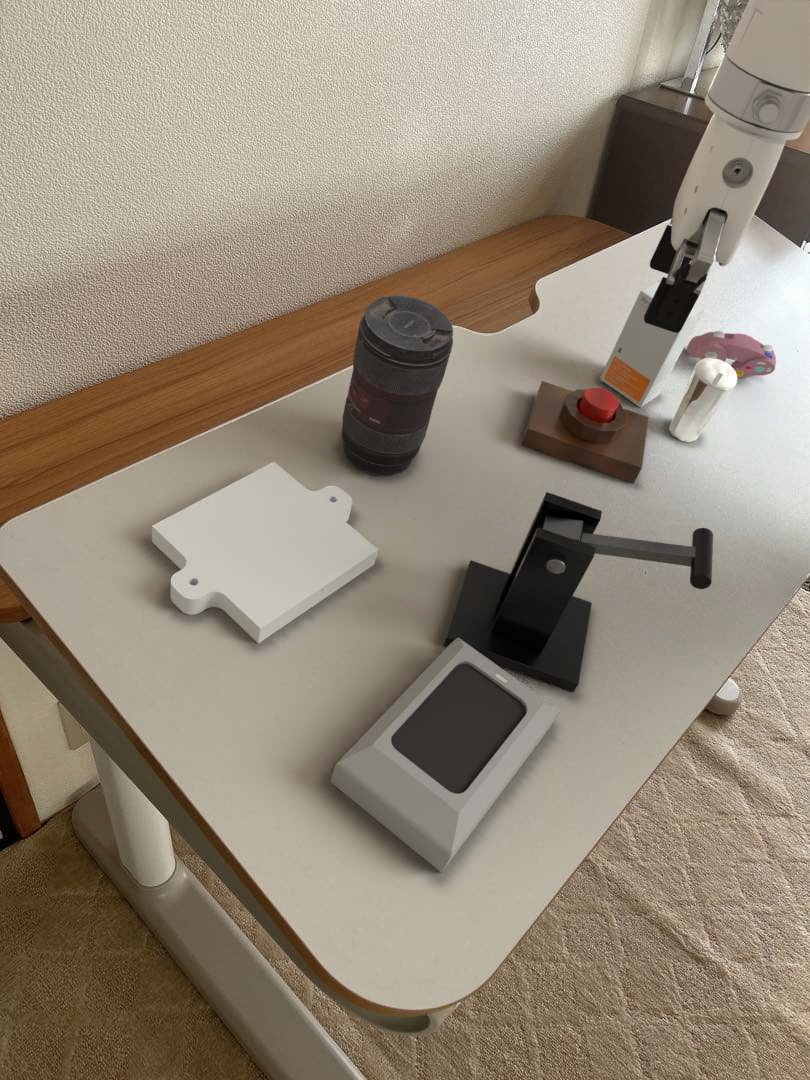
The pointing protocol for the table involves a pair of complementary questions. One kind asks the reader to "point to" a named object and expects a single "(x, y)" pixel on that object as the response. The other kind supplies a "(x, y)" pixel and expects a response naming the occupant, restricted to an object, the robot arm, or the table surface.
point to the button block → (586, 433)
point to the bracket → (532, 601)
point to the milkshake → (702, 398)
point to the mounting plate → (262, 550)
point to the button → (598, 404)
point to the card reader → (445, 751)
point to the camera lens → (394, 382)
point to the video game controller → (734, 352)
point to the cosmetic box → (645, 352)
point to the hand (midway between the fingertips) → (663, 297)
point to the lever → (646, 548)
